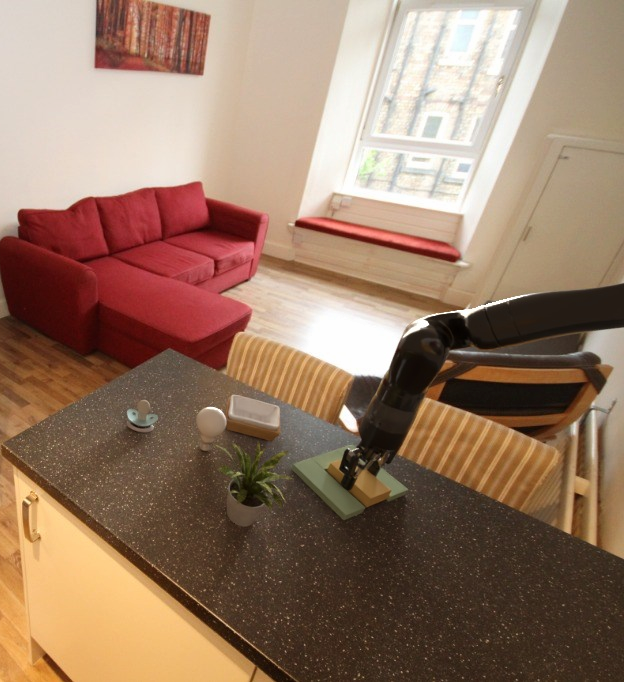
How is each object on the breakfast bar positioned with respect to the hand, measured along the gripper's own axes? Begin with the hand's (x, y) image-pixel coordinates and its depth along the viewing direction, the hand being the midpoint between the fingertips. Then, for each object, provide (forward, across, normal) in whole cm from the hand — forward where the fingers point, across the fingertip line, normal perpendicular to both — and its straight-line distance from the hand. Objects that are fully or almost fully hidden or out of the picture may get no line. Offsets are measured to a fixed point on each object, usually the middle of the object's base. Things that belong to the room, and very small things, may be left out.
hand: (357, 482), depth 92 cm
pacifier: (+2, -34, +32) cm, 47 cm away
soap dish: (+2, -8, +23) cm, 25 cm away
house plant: (+2, -28, +3) cm, 29 cm away
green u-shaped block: (+2, 0, +2) cm, 2 cm away
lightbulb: (+2, -24, +20) cm, 31 cm away
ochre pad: (+1, 0, 0) cm, 1 cm away
